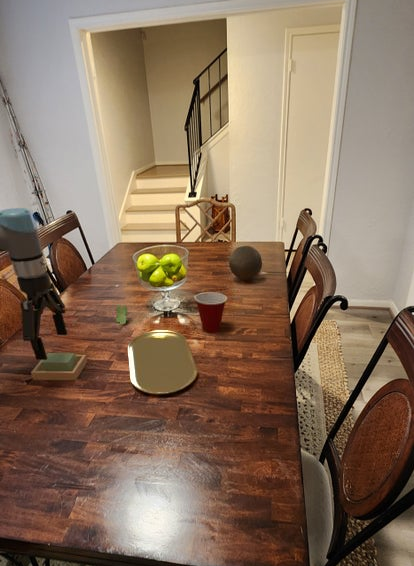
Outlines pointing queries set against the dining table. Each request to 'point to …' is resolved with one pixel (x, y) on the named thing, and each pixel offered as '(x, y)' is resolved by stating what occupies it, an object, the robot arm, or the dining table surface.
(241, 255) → the dark grey ball
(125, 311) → the seedling
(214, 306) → the plastic cup
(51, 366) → the green rectangular block
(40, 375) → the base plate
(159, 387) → the serving platter
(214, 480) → the dining table surface
